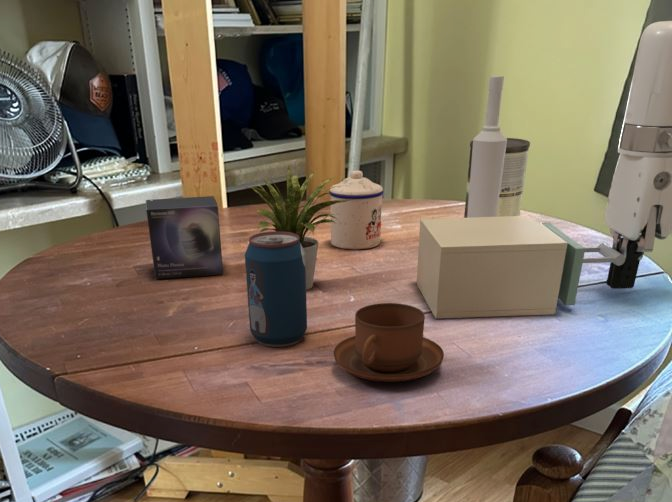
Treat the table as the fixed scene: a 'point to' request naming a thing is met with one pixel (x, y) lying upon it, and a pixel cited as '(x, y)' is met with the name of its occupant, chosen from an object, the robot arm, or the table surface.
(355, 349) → the cup and saucer
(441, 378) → the table surface
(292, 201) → the house plant
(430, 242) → the beige box
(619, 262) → the drawer
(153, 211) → the small box
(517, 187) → the coffee can
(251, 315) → the soda can
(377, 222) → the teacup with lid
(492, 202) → the bottle
